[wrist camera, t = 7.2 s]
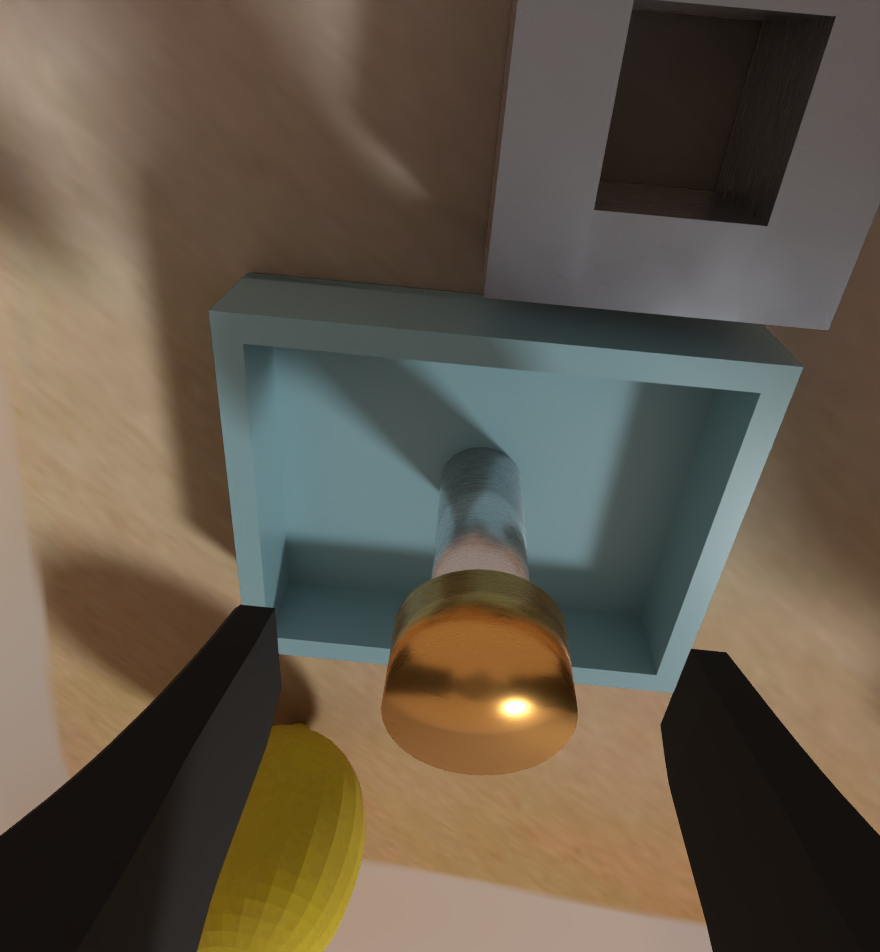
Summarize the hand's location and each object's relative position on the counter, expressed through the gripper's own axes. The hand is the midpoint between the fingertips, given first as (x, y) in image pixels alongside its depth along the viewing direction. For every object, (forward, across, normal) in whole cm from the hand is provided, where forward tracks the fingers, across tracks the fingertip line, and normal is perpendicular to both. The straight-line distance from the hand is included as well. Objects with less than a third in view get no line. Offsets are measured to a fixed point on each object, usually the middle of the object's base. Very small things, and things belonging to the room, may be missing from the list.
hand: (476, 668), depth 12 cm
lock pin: (+6, 0, 0) cm, 6 cm away
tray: (+6, 0, 0) cm, 6 cm away
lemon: (+7, +5, +11) cm, 14 cm away
